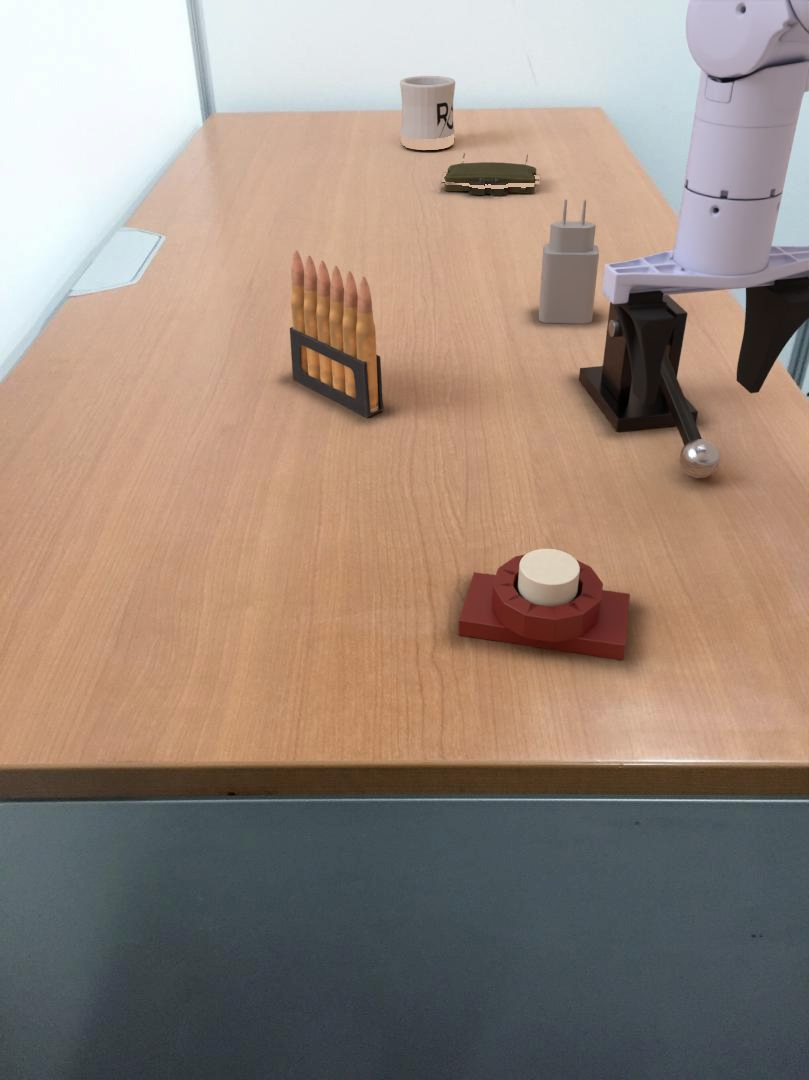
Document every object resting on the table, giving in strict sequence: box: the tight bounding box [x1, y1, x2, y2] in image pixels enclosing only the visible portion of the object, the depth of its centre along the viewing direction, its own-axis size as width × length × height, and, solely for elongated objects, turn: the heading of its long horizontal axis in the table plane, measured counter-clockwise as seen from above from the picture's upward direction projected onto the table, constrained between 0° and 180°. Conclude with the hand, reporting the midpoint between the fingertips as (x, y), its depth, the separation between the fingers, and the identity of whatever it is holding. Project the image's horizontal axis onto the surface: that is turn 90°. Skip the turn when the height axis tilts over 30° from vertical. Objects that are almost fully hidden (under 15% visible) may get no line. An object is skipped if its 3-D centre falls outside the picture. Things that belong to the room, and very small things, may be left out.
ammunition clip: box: [289, 250, 384, 419], centre depth 82 cm, size 11×2×12 cm, turn 43°
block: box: [458, 553, 631, 661], centre depth 59 cm, size 10×6×3 cm, turn 76°
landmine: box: [440, 152, 539, 197], centre depth 140 cm, size 14×3×15 cm
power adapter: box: [538, 198, 600, 325], centre depth 96 cm, size 3×5×12 cm, turn 85°
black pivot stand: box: [578, 295, 699, 433], centre depth 81 cm, size 10×7×9 cm
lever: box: [659, 351, 722, 479], centre depth 76 cm, size 17×3×3 cm, turn 10°
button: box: [518, 548, 580, 607], centre depth 58 cm, size 4×4×2 cm
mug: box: [399, 75, 456, 139], centre depth 157 cm, size 12×9×10 cm
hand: (695, 392), depth 65 cm, fingers open, 7 cm apart
